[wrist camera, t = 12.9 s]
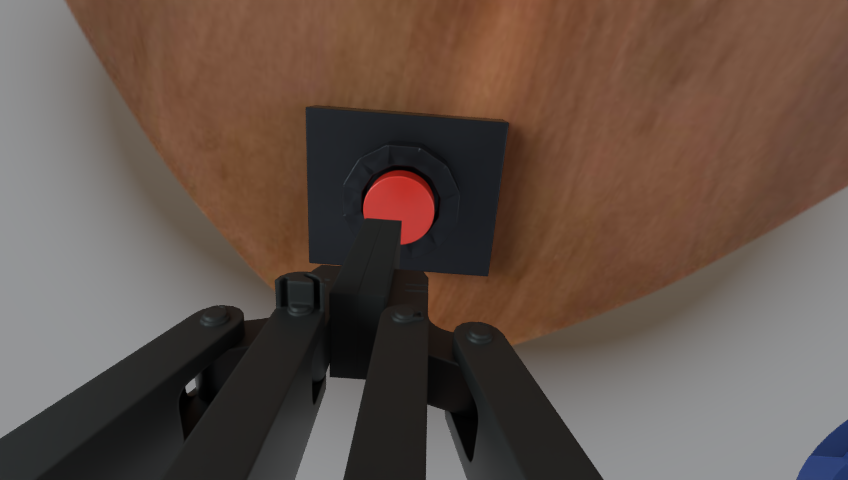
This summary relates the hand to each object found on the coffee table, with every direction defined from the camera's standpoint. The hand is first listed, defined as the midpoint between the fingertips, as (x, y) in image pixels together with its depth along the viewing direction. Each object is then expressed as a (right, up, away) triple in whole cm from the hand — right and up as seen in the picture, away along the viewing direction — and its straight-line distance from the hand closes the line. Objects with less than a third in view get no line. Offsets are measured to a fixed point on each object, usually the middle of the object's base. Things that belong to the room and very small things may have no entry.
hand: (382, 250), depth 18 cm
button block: (+1, +4, +11) cm, 12 cm away
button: (0, +3, +8) cm, 8 cm away
